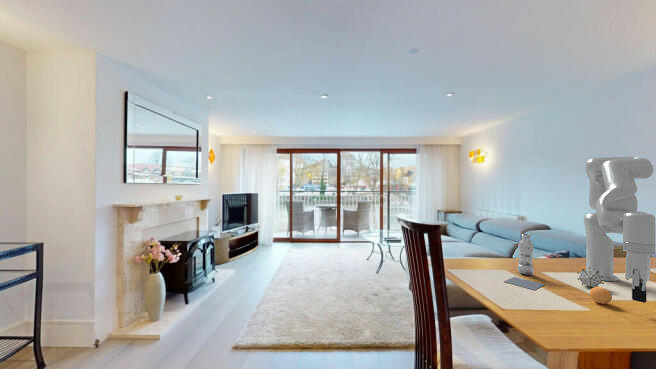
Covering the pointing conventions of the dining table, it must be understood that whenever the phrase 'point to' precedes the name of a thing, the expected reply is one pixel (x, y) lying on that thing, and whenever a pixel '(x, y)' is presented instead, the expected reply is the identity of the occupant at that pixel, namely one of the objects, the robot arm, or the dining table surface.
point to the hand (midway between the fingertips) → (639, 300)
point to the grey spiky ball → (590, 278)
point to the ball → (600, 295)
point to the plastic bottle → (525, 255)
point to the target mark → (524, 283)
